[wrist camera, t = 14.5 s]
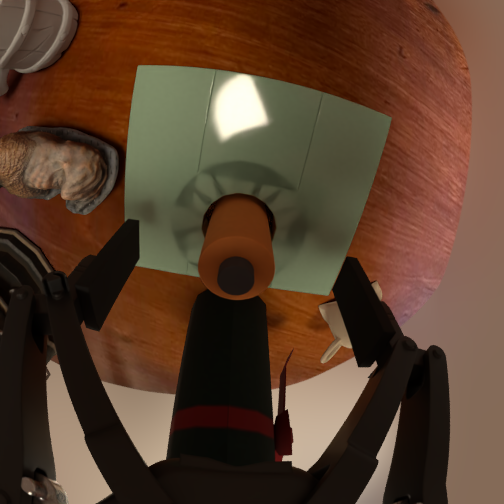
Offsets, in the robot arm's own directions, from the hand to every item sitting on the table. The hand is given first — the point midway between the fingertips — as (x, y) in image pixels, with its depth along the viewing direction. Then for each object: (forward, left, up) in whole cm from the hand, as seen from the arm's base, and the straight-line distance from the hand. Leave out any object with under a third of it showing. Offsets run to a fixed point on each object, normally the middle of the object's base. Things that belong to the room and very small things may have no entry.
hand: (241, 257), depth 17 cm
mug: (+22, -14, -7) cm, 27 cm away
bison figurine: (+16, -3, -7) cm, 18 cm away
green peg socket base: (0, -3, -7) cm, 7 cm away
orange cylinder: (0, 0, -7) cm, 7 cm away
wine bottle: (-2, +11, -7) cm, 13 cm away
